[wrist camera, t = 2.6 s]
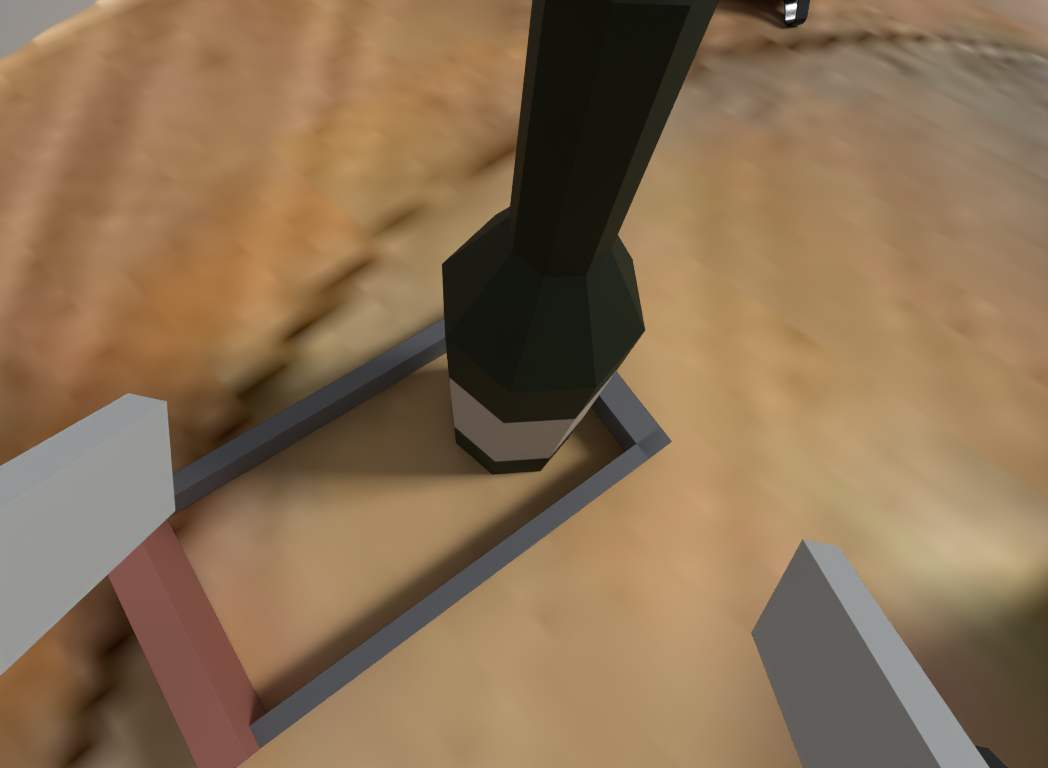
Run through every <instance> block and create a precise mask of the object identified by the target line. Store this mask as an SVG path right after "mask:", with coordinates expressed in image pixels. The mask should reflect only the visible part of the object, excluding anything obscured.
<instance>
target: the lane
mask: <svg viewBox="0 0 1048 768" xmlns="http://www.w3.org/2000/svg"><path fill="white" fill-rule="evenodd" d="M446 352H447V351H446V341H445V322H444V319H442V320H441V321H439V322H437V323H435V324H434V325H432V326H430V327H428V328H427V329H425V330H423V331H421V332H420V333H418V334H416V335H414V336H413V337H411V338H409V339H408V340H406V341H404V342H402V343H401V344H399V345H397V346H395V347H394V348H392V349H390V350H388V351H387V352H385V353H383V354H381V355H380V356H378V357H376V358H374V359H373V360H371V361H369V362H367V363H366V364H364V365H362V366H360V367H359V368H357V369H355V370H353V371H352V372H350V373H348V374H346V375H345V376H343V377H341V378H339V379H338V380H336V381H334V382H332V383H331V384H329V385H327V386H325V387H324V388H322V389H320V390H318V391H317V392H315V393H313V394H311V395H310V396H308V397H306V398H305V399H303V400H301V401H299V402H298V403H296V404H294V405H292V406H291V407H289V408H287V409H285V410H284V411H282V412H280V413H278V414H277V415H275V416H273V417H271V418H270V419H268V420H266V421H264V422H263V423H261V424H259V425H257V426H256V427H254V428H252V429H250V430H249V431H247V432H245V433H243V434H242V435H240V436H238V437H236V438H235V439H233V440H231V441H229V442H228V443H226V444H224V445H222V446H221V447H219V448H217V449H215V450H214V451H212V452H210V453H208V454H207V455H205V456H203V457H201V458H200V459H198V460H196V461H195V462H193V463H191V464H189V465H188V466H186V467H184V468H182V469H181V470H179V471H177V472H175V473H174V474H172V475H173V487H174V499H175V512H174V513H173V514H175V513H177V512H178V511H180V510H182V509H184V508H185V507H187V506H189V505H190V504H192V503H194V502H195V501H197V500H199V499H200V498H202V497H204V496H205V495H207V494H209V493H210V492H212V491H214V490H216V489H217V488H219V487H221V486H222V485H224V484H226V483H227V482H229V481H231V480H232V479H234V478H236V477H237V476H239V475H241V474H242V473H244V472H246V471H248V470H249V469H251V468H253V467H254V466H256V465H258V464H259V463H261V462H263V461H264V460H266V459H268V458H269V457H271V456H273V455H274V454H276V453H278V452H280V451H281V450H283V449H285V448H286V447H288V446H290V445H291V444H293V443H295V442H296V441H298V440H300V439H301V438H303V437H305V436H307V435H308V434H310V433H312V432H313V431H315V430H317V429H318V428H320V427H322V426H323V425H325V424H327V423H328V422H330V421H332V420H333V419H335V418H337V417H339V416H340V415H342V414H344V413H345V412H347V411H349V410H350V409H352V408H354V407H355V406H357V405H359V404H360V403H362V402H364V401H365V400H367V399H369V398H371V397H372V396H374V395H376V394H377V393H379V392H381V391H382V390H384V389H386V388H387V387H389V386H391V385H392V384H394V383H396V382H397V381H399V380H401V379H403V378H404V377H406V376H408V375H409V374H411V373H413V372H414V371H416V370H418V369H419V368H421V367H423V366H424V365H426V364H428V363H429V362H431V361H433V360H435V359H436V358H438V357H440V356H441V355H443V354H445V353H446ZM591 407H592V408H593V410H594V411H595V412H596V414H597V415H598V416H599V417H600V419H601V420H602V421H603V423H604V424H605V425H606V427H607V428H608V429H609V431H610V432H611V433H612V435H613V436H614V437H615V438H616V440H617V441H618V442H619V444H620V445H621V446H622V448H623V449H624V450H625V452H624V453H623V454H622V455H620V456H619V457H618V458H616V459H615V460H613V461H612V462H611V463H609V464H608V465H607V466H605V467H604V468H603V469H601V470H600V471H598V472H597V473H596V474H594V475H593V476H592V477H590V478H589V479H587V480H586V481H585V482H583V483H582V484H581V485H579V486H578V487H576V488H575V489H574V490H572V491H571V492H570V493H568V494H567V495H565V496H564V497H563V498H561V499H560V500H559V501H557V502H556V503H555V504H553V505H552V506H550V507H549V508H548V509H546V510H545V511H544V512H542V513H541V514H539V515H538V516H537V517H535V518H534V519H533V520H531V521H530V522H528V523H527V524H526V525H524V526H523V527H522V528H520V529H519V530H517V531H516V532H515V533H513V534H512V535H511V536H509V537H508V538H507V539H505V540H504V541H502V542H501V543H500V544H498V545H497V546H496V547H494V548H493V549H491V550H490V551H489V552H487V553H486V554H485V555H483V556H482V557H480V558H479V559H478V560H476V561H475V562H474V563H472V564H471V565H469V566H468V567H467V568H465V569H464V570H463V571H461V572H460V573H459V574H457V575H456V576H454V577H453V578H452V579H450V580H449V581H448V582H446V583H445V584H443V585H442V586H441V587H439V588H438V589H437V590H435V591H434V592H432V593H431V594H430V595H428V596H427V597H426V598H424V599H423V600H421V601H420V602H419V603H417V604H416V605H415V606H413V607H412V608H411V609H409V610H408V611H406V612H405V613H404V614H402V615H401V616H400V617H398V618H397V619H395V620H394V621H393V622H391V623H390V624H389V625H387V626H386V627H384V628H383V629H382V630H380V631H379V632H378V633H376V634H375V635H374V636H372V637H371V638H369V639H368V640H367V641H365V642H364V643H363V644H361V645H360V646H358V647H357V648H356V649H354V650H353V651H352V652H350V653H349V654H347V655H346V656H345V657H343V658H342V659H341V660H339V661H338V662H336V663H335V664H334V665H332V666H331V667H330V668H328V669H327V670H326V671H324V672H323V673H321V674H320V675H319V676H317V677H316V678H315V679H313V680H312V681H310V682H309V683H308V684H306V685H305V686H304V687H302V688H301V689H299V690H298V691H297V692H295V693H294V694H293V695H291V696H290V697H288V698H287V699H286V700H284V701H283V702H282V703H280V704H279V705H278V706H276V707H275V708H273V709H272V710H271V711H269V712H268V713H267V714H266V712H265V710H264V709H263V707H262V705H261V703H260V701H259V699H258V697H257V695H256V693H255V691H254V689H253V687H252V685H251V683H250V681H249V679H248V677H247V675H246V673H245V671H244V669H243V667H242V665H241V663H240V661H239V659H238V657H237V655H236V654H235V652H234V650H233V648H232V646H231V644H230V642H229V640H228V638H227V636H226V634H225V632H224V630H223V628H222V626H221V624H220V622H219V620H218V618H217V616H216V614H215V612H214V610H213V608H212V606H211V604H210V602H209V600H208V598H207V597H206V595H205V593H204V591H203V589H202V587H201V585H200V583H199V581H198V579H197V577H196V575H195V573H194V571H193V569H192V567H191V565H190V563H189V561H188V559H187V557H186V555H185V553H184V551H183V549H182V547H181V545H180V543H179V542H178V540H177V538H176V536H175V534H174V532H173V530H172V528H171V526H170V524H169V522H168V520H167V519H166V520H165V521H164V522H163V523H162V524H161V525H160V526H159V527H158V528H157V529H156V530H154V531H153V532H152V533H151V534H150V535H149V536H148V537H147V538H146V539H145V540H144V541H143V542H142V543H141V544H140V545H139V546H137V547H136V548H135V549H134V550H133V551H132V552H131V553H130V554H129V555H128V556H127V557H126V558H125V559H124V560H123V561H122V562H120V563H119V564H118V565H117V566H116V567H115V568H114V569H113V570H112V571H111V572H110V573H109V574H108V577H109V579H110V581H111V583H112V585H113V588H114V590H115V592H116V594H117V596H118V598H119V600H120V603H121V605H122V607H123V609H124V611H125V613H126V615H127V618H128V620H129V622H130V624H131V626H132V628H133V630H134V633H135V635H136V637H137V639H138V641H139V643H140V645H141V648H142V650H143V652H144V654H145V656H146V658H147V660H148V663H149V665H150V667H151V669H152V671H153V673H154V675H155V678H156V680H157V682H158V684H159V686H160V688H161V690H162V693H163V695H164V697H165V699H166V701H167V703H168V705H169V708H170V710H171V712H172V714H173V716H174V718H175V720H176V723H177V725H178V727H179V729H180V731H181V733H182V735H183V738H184V740H185V742H186V744H187V746H188V748H189V750H190V753H191V755H192V757H193V759H194V761H195V763H196V765H197V768H236V767H237V766H239V765H240V764H241V763H243V762H244V761H245V760H247V759H248V758H249V757H250V756H252V755H253V754H254V753H255V752H256V751H258V750H259V749H260V748H261V747H263V746H264V745H265V744H267V743H268V742H270V741H271V740H272V739H274V738H275V737H276V736H278V735H279V734H280V733H282V732H283V731H284V730H286V729H287V728H288V727H290V726H291V725H292V724H294V723H295V722H296V721H298V720H299V719H300V718H302V717H303V716H304V715H306V714H307V713H308V712H310V711H311V710H312V709H314V708H315V707H316V706H318V705H319V704H321V703H322V702H323V701H325V700H326V699H327V698H329V697H330V696H331V695H333V694H334V693H335V692H337V691H338V690H339V689H341V688H342V687H343V686H345V685H346V684H347V683H349V682H350V681H351V680H353V679H354V678H355V677H357V676H358V675H359V674H361V673H362V672H363V671H365V670H366V669H367V668H369V667H370V666H371V665H373V664H374V663H376V662H377V661H378V660H380V659H381V658H382V657H384V656H385V655H386V654H388V653H389V652H390V651H392V650H393V649H394V648H396V647H397V646H398V645H400V644H401V643H402V642H404V641H405V640H406V639H408V638H409V637H410V636H412V635H413V634H414V633H416V632H417V631H418V630H420V629H421V628H422V627H424V626H425V625H426V624H428V623H429V622H431V621H432V620H433V619H435V618H436V617H437V616H439V615H440V614H441V613H443V612H444V611H445V610H447V609H448V608H449V607H451V606H452V605H453V604H455V603H456V602H457V601H459V600H460V599H461V598H463V597H464V596H465V595H467V594H468V593H469V592H471V591H472V590H473V589H475V588H476V587H477V586H479V585H480V584H482V583H483V582H484V581H486V580H487V579H488V578H490V577H491V576H492V575H494V574H495V573H496V572H498V571H499V570H500V569H502V568H503V567H504V566H506V565H507V564H508V563H510V562H511V561H512V560H514V559H515V558H516V557H518V556H519V555H520V554H522V553H523V552H524V551H526V550H527V549H528V548H530V547H531V546H532V545H534V544H535V543H537V542H538V541H539V540H541V539H542V538H543V537H545V536H546V535H547V534H549V533H550V532H551V531H553V530H554V529H555V528H557V527H558V526H559V525H561V524H562V523H563V522H565V521H566V520H567V519H569V518H570V517H571V516H573V515H574V514H575V513H577V512H578V511H579V510H581V509H582V508H583V507H585V506H586V505H587V504H589V503H590V502H592V501H593V500H594V499H596V498H597V497H598V496H600V495H601V494H602V493H604V492H605V491H606V490H608V489H609V488H610V487H612V486H613V485H614V484H616V483H617V482H618V481H620V480H621V479H622V478H624V477H625V476H626V475H628V474H629V473H630V472H632V471H633V470H634V469H636V468H637V467H638V466H640V465H641V464H643V463H644V462H645V461H647V460H648V459H649V458H651V457H652V456H653V455H655V454H656V453H657V452H659V451H660V450H661V449H663V448H664V447H665V446H667V445H668V444H669V443H671V442H672V441H671V440H670V439H669V437H668V436H667V435H666V434H665V432H664V431H663V430H662V429H661V427H660V426H659V425H658V423H657V422H656V421H655V420H654V418H653V417H652V416H651V415H650V413H649V412H648V411H647V410H646V408H645V407H644V406H643V404H642V403H641V402H640V401H639V399H638V398H637V397H636V396H635V394H634V393H633V392H632V391H631V389H630V388H629V387H628V385H627V384H626V383H625V382H624V380H623V379H622V378H621V377H620V375H619V374H618V373H617V372H615V373H614V375H613V376H612V378H611V379H610V380H609V382H608V383H607V385H606V386H605V387H604V389H603V390H602V392H601V393H600V394H599V396H598V397H597V399H596V400H595V401H594V403H593V404H592V406H591ZM173 514H171V515H170V516H172V515H173ZM170 516H169V517H170Z"/></svg>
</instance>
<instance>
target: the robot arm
mask: <svg viewBox="0 0 1048 768" xmlns="http://www.w3.org/2000/svg"><path fill="white" fill-rule="evenodd" d="M174 512H175V499H174V487H173V475H172V462H171V450H170V437H169V425H168V413H167V401H163V400H158V399H153V398H149V397H144V396H139V395H135V394H130V393H128V394H126V395H124V396H122V397H121V398H119V399H117V400H115V401H114V402H112V403H110V404H108V405H107V406H105V407H103V408H101V409H100V410H98V411H96V412H94V413H93V414H91V415H89V416H87V417H86V418H84V419H82V420H80V421H79V422H77V423H75V424H73V425H72V426H70V427H68V428H66V429H64V430H63V431H61V432H59V433H57V434H56V435H54V436H52V437H50V438H49V439H47V440H45V441H43V442H42V443H40V444H38V445H36V446H35V447H33V448H31V449H29V450H28V451H26V452H24V453H22V454H21V455H19V456H17V457H15V458H14V459H12V460H10V461H8V462H7V463H5V464H3V465H1V466H0V675H2V674H3V673H4V672H5V671H6V670H7V669H8V668H9V667H10V666H11V665H12V664H13V663H14V662H15V661H16V660H17V659H19V658H20V657H21V656H22V655H23V654H24V653H25V652H26V651H27V650H28V649H29V648H30V647H31V646H32V645H33V644H34V643H36V642H37V641H38V640H39V639H40V638H41V637H42V636H43V635H44V634H45V633H46V632H47V631H48V630H49V629H50V628H51V627H53V626H54V625H55V624H56V623H57V622H58V621H59V620H60V619H61V618H62V617H63V616H64V615H65V614H66V613H67V612H68V611H69V610H71V609H72V608H73V607H74V606H75V605H76V604H77V603H78V602H79V601H80V600H81V599H82V598H83V597H84V596H85V595H86V594H88V593H89V592H90V591H91V590H92V589H93V588H94V587H95V586H96V585H97V584H98V583H99V582H100V581H101V580H102V579H103V578H105V577H106V576H107V575H108V574H109V573H110V572H111V571H112V570H113V569H114V568H115V567H116V566H117V565H118V564H119V563H120V562H122V561H123V560H124V559H125V558H126V557H127V556H128V555H129V554H130V553H131V552H132V551H133V550H134V549H135V548H136V547H137V546H139V545H140V544H141V543H142V542H143V541H144V540H145V539H146V538H147V537H148V536H149V535H150V534H151V533H152V532H153V531H154V530H156V529H157V528H158V527H159V526H160V525H161V524H162V523H163V522H164V521H165V520H166V519H167V518H168V517H169V516H170V515H171V514H173V513H174ZM752 636H753V638H754V641H755V644H756V646H757V649H758V651H759V654H760V657H761V659H762V662H763V664H764V667H765V670H766V672H767V675H768V678H769V680H770V683H771V685H772V688H773V691H774V693H775V696H776V698H777V701H778V704H779V706H780V709H781V711H782V714H783V717H784V719H785V722H786V724H787V727H788V730H789V732H790V735H791V738H792V740H793V743H794V745H795V748H796V751H797V753H798V756H799V758H800V761H801V764H802V766H803V768H1007V767H1006V766H1005V765H1004V764H1003V763H1002V762H1001V761H1000V760H999V759H998V758H997V757H996V756H995V755H994V754H993V753H992V752H991V751H990V750H989V749H988V748H984V747H979V746H974V744H973V743H972V741H971V740H970V738H969V737H968V736H967V734H966V733H965V731H964V730H963V728H962V727H961V725H960V724H959V722H958V721H957V719H956V718H955V717H954V715H953V714H952V712H951V711H950V709H949V708H948V706H947V705H946V703H945V702H944V700H943V699H942V697H941V696H940V695H939V693H938V692H937V690H936V689H935V687H934V686H933V684H932V683H931V681H930V680H929V678H928V677H927V675H926V674H925V673H924V671H923V670H922V668H921V667H920V665H919V664H918V662H917V661H916V659H915V658H914V656H913V655H912V654H911V652H910V651H909V649H908V648H907V646H906V645H905V643H904V642H903V640H902V639H901V637H900V636H899V634H898V633H897V632H896V630H895V629H894V627H893V626H892V624H891V623H890V621H889V620H888V618H887V617H886V615H885V614H884V612H883V611H882V610H881V608H880V607H879V605H878V604H877V602H876V601H875V599H874V598H873V596H872V595H871V593H870V592H869V591H868V589H867V588H866V586H865V585H864V583H863V582H862V580H861V579H860V577H859V576H858V574H857V573H856V571H855V570H854V569H853V567H852V566H851V564H850V563H849V561H848V560H847V558H846V557H845V555H844V554H843V552H842V551H841V549H840V548H839V547H837V546H832V545H828V544H823V543H818V542H814V541H809V540H805V539H802V541H801V543H800V545H799V547H798V549H797V550H796V552H795V554H794V556H793V558H792V560H791V561H790V563H789V565H788V567H787V569H786V570H785V572H784V574H783V576H782V578H781V580H780V581H779V583H778V585H777V587H776V589H775V591H774V592H773V594H772V596H771V598H770V600H769V602H768V603H767V605H766V607H765V609H764V611H763V612H762V614H761V616H760V618H759V620H758V622H757V623H756V625H755V627H754V629H753V631H752Z"/></svg>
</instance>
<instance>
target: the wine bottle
mask: <svg viewBox="0 0 1048 768" xmlns="http://www.w3.org/2000/svg"><path fill="white" fill-rule="evenodd" d="M718 1H719V0H532V9H531V19H530V28H529V37H528V46H527V56H526V65H525V74H524V83H523V93H522V102H521V111H520V120H519V130H518V139H517V148H516V157H515V166H514V176H513V185H512V194H511V203H510V207H508V208H507V209H505V210H503V211H502V212H500V213H498V214H496V215H495V216H494V217H493V218H492V219H491V220H490V221H488V222H487V223H486V224H485V225H484V226H483V227H482V228H481V229H480V230H479V231H478V232H476V233H475V234H474V235H473V236H472V237H471V238H470V239H469V240H468V241H467V242H466V243H464V244H463V245H462V246H461V247H460V248H459V249H458V250H457V251H456V252H455V253H453V254H452V255H451V256H450V257H449V258H448V259H447V260H446V261H445V262H444V263H443V264H442V275H443V299H444V322H445V341H446V351H447V360H448V370H449V379H450V389H451V398H452V408H453V417H454V427H455V436H456V443H457V444H458V445H459V446H460V447H461V448H463V449H464V450H465V451H466V452H467V453H468V454H470V455H471V456H472V457H473V458H474V459H475V460H476V461H478V462H479V463H480V464H481V465H482V466H483V467H485V468H486V469H487V470H488V471H489V472H490V473H491V474H504V473H519V472H533V471H541V470H542V469H543V467H544V466H545V465H546V464H547V463H548V461H549V460H550V459H551V458H552V457H553V455H554V454H555V453H556V452H557V451H558V449H559V448H560V447H561V446H562V445H563V444H564V442H565V441H566V440H567V439H568V438H569V436H570V435H571V434H572V432H573V431H574V429H575V428H576V427H577V425H578V424H579V422H580V421H581V420H582V418H583V417H584V415H585V414H586V413H587V411H588V410H589V408H590V407H591V406H592V404H593V403H594V401H595V400H596V399H597V397H598V396H599V394H600V393H601V392H602V390H603V389H604V387H605V386H606V385H607V383H608V382H609V380H610V379H611V378H612V376H613V375H614V373H615V372H616V371H617V369H618V368H619V366H620V365H621V364H622V362H623V361H624V359H625V358H626V357H627V355H628V354H629V352H630V351H631V349H632V348H633V347H634V345H635V344H636V342H637V341H638V340H639V338H640V337H641V335H642V334H643V333H644V331H645V327H644V321H643V315H642V310H641V304H640V299H639V293H638V287H637V282H636V276H635V271H634V265H633V259H632V258H631V256H630V254H629V253H628V251H627V249H626V248H625V246H624V244H623V243H622V241H621V240H620V238H619V236H618V233H619V230H620V228H621V226H622V223H623V221H624V219H625V216H626V214H627V212H628V210H629V207H630V205H631V203H632V200H633V198H634V196H635V193H636V191H637V189H638V186H639V184H640V182H641V179H642V177H643V175H644V173H645V170H646V168H647V166H648V163H649V161H650V159H651V156H652V154H653V152H654V149H655V147H656V145H657V142H658V140H659V138H660V136H661V133H662V131H663V129H664V126H665V124H666V122H667V119H668V117H669V115H670V112H671V110H672V108H673V105H674V103H675V101H676V99H677V96H678V94H679V92H680V89H681V87H682V85H683V82H684V80H685V78H686V75H687V73H688V71H689V68H690V66H691V64H692V62H693V59H694V57H695V55H696V52H697V50H698V48H699V45H700V43H701V41H702V38H703V36H704V34H705V31H706V29H707V27H708V24H709V22H710V20H711V18H712V15H713V13H714V11H715V8H716V6H717V4H718Z"/></svg>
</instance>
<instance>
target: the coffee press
mask: <svg viewBox="0 0 1048 768" xmlns="http://www.w3.org/2000/svg"><path fill="white" fill-rule="evenodd" d="M783 1H784V5H785V24H786V26H788V27H790V26H796V25H801V24H803V23H804V22H805V21H806V18H807V15H808V9H809V3H810V0H798V2H797V1H796V0H783Z"/></svg>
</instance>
